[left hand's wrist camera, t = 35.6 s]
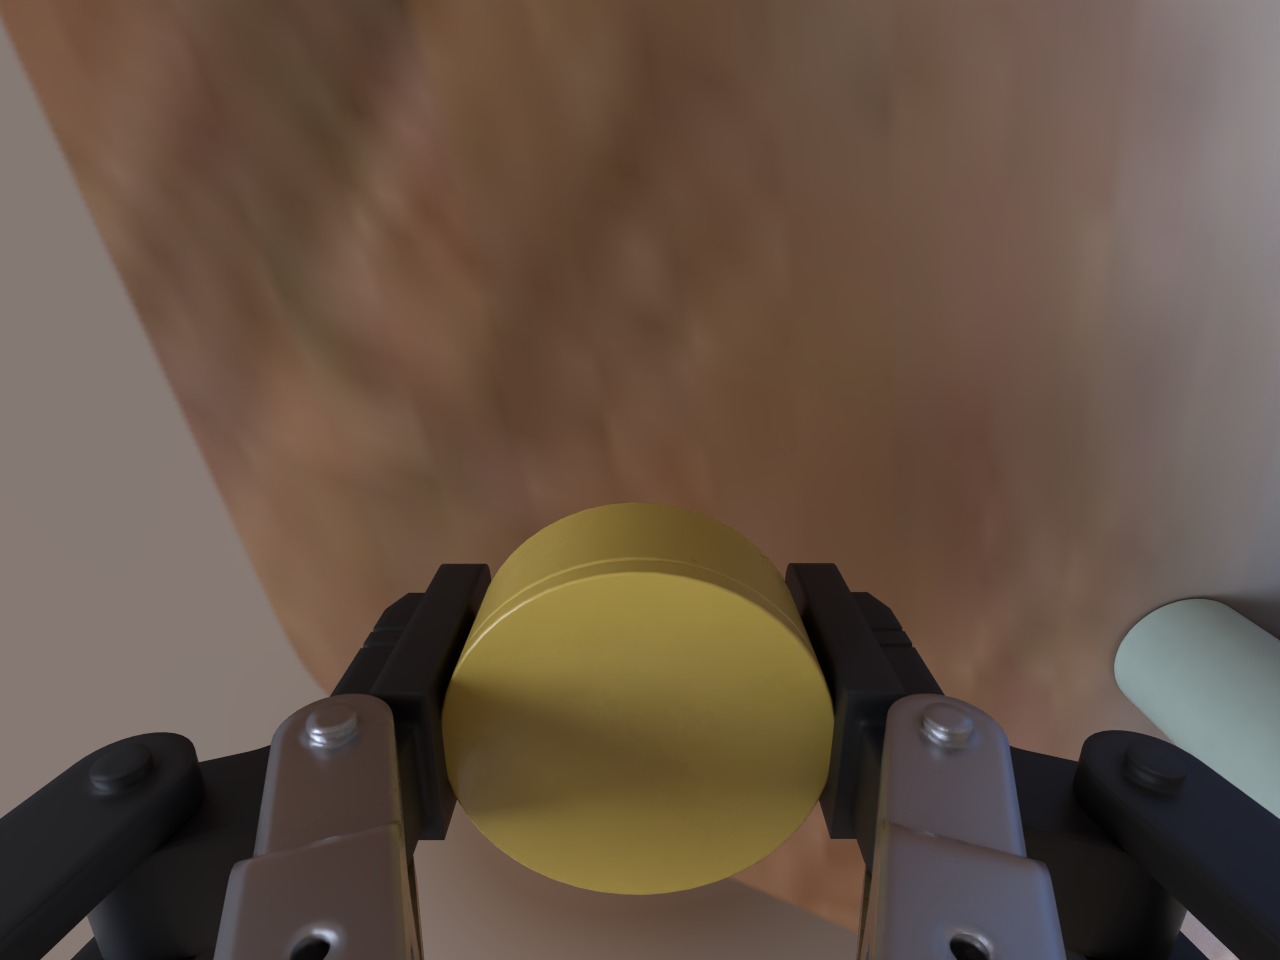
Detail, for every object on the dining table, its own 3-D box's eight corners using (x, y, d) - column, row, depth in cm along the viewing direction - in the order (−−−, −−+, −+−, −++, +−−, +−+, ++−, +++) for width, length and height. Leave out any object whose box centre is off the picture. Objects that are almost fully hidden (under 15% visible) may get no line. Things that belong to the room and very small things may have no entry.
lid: (424, 555, 11) (372, 639, 9) (754, 458, 10) (783, 520, 8) (543, 808, 12) (523, 929, 10) (831, 736, 12) (872, 847, 10)
